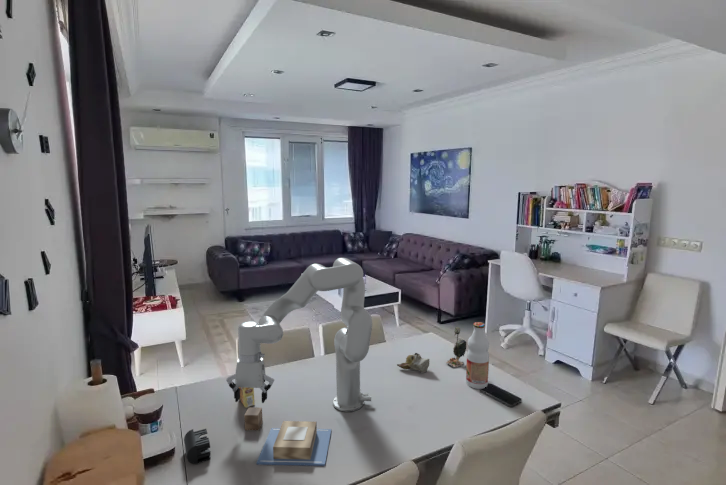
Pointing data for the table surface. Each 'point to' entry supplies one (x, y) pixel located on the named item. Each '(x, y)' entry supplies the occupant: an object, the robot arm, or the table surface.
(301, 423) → the oak base block
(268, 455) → the blueprint board
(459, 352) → the plant with pod
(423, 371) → the ceramic sculpture
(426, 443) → the table surface
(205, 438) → the end cap
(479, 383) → the fruit juice
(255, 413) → the walnut block
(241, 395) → the candy box
